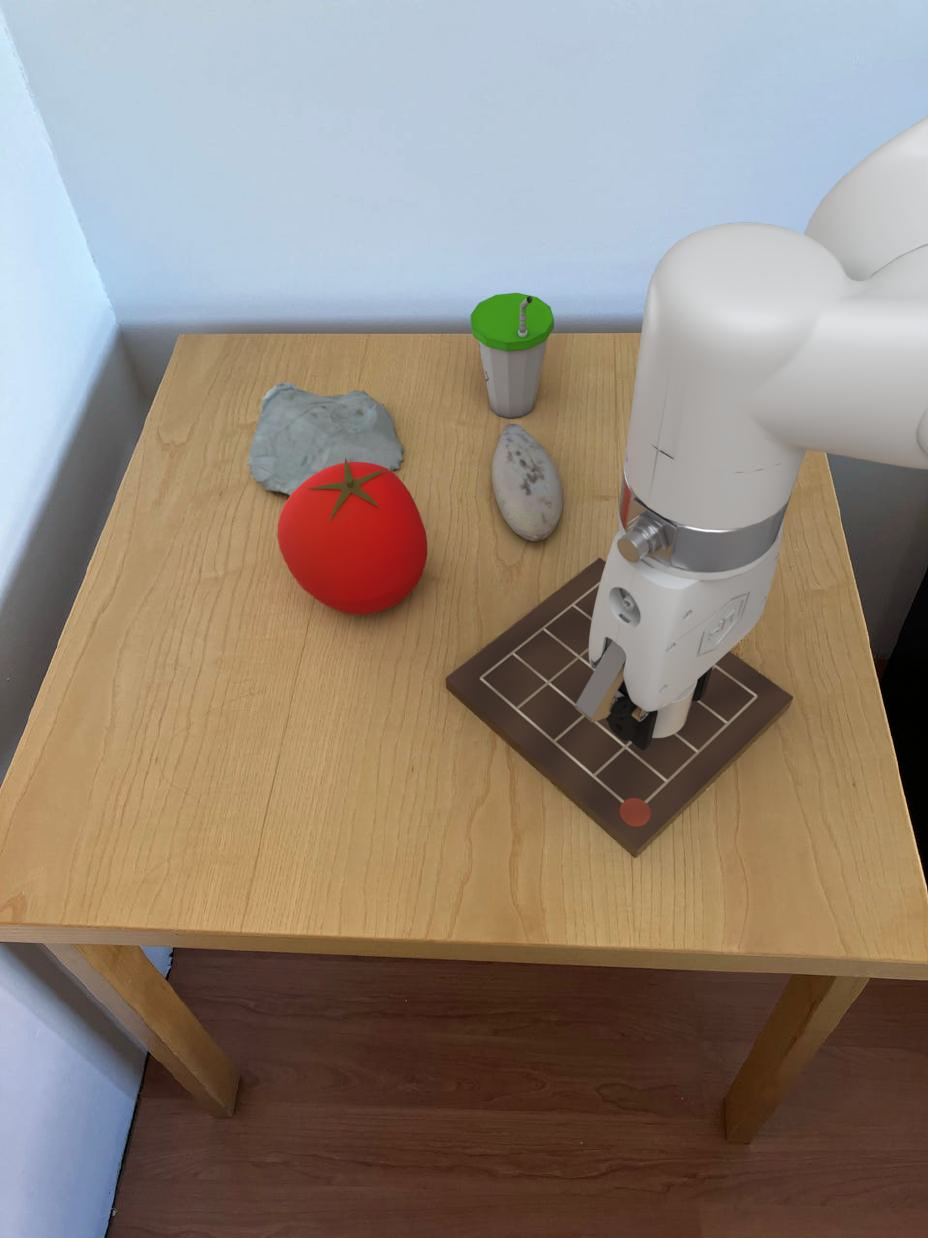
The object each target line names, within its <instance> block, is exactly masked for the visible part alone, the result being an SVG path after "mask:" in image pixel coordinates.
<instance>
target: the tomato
mask: <svg viewBox="0 0 928 1238" xmlns="http://www.w3.org/2000/svg"><path fill="white" fill-rule="evenodd" d="M276 537H277V541H278V547H279V550H280V553H281V555H282V557H283V561H284V562H285V565H286V566H287V568H288V570H289V572H290V573H291V575H292V576H293V578H294V579H295V581H296V582H297V583H298V584H299V585H300V586H301V588H302V589H303V590H304V591H305V592H307V593H308V594H309V595H311V596H312V597H313V598H315V600H317V601H318V602H320V603H321V604H322V605H325V606H326V607H328V608H330V609H333V610H336V611H339V612H341V613H346V614H350V615H369V614H374V613H378V612H382V611H385V610H388V609H391V608H392V607H394V606H397V604H399V603H401V602H402V601H403V600H404V599H405V598H406V597H407V596H409V595H410V594H412V592H413V591H414V590H415V588H416V587H417V585H418V584H419V583H420V580H421V578H422V576H423V573H424V570H425V566H426V562H427V559H428V538H427V532H426V529H425V525H424V522H423V520H422V516H421V514H420V511H419V508H418V506H417V504H416V502H415V500H414V498H413V495H412V493H411V492H410V490H409V489H408V488H407V486H406V484H404V482H403V481H402V480H401V479H400V477H399V476H398V475H396V473H394V472H393V471H392V472H391V471H390V470H388V468H385V467H382V466H379V465H376V464H372V463H366V462H347V460H346V457H345V463H341V464H337V465H334V466H331V467H328V468H325V469H323V470H321V471H319V472H317V473H316V474H314V475H313V476H311V477H310V478H308V479H307V480H306V481H304V482H303V483H302V484H301V485H300V486H299V487H298V488H297V489H296V490H295V491H294V492H293V493H292V494H291V495H290V496H288V498H287V500H286V501H285V503H284V505H283V507H282V509H281V511H280V513H279V518H278V521H277V533H276Z"/></svg>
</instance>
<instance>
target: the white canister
mask: <svg viewBox="0 0 928 1238" xmlns="http://www.w3.org/2000/svg"><path fill="white" fill-rule="evenodd" d="M697 680H698V679H697ZM697 680H696V681H695V682H694V683H693V684H692V685H691V686H689V687H688V688H687V689H686V690H685V691H684V692H683V693H681V694H680V695H679V696H678V697H677V698H676V699H674V700H673V701H672V702H671V703H669V704H668V705H666V706H665V707H663V708H661V709H659V710H657V711H658V715H657V719H656V723H655V728H654V732H653V736H652V738H663V737H667V736H670V735H673V734H674V733H676V732H678V731H679V730H680V729H681V728H682V727H683V726H684V724H685V722H686V720H687V717H688V713H689V709H690V706H691V702H692V699H693V695H694V692H695V688H696V685H697Z"/></svg>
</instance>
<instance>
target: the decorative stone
mask: <svg viewBox="0 0 928 1238" xmlns="http://www.w3.org/2000/svg"><path fill="white" fill-rule="evenodd" d="M561 481H562V480H561V477H560V474H559V471H558V468H557V466H556V464H555V463H554V461H553V459H552V457H551V455H550V454H549V452H548V451H547V450H546V449H545V447H544V446H543V445H542V444H541V443H539V442H538V440H536V439H535V437H533V436H532V435H531V434H530V433H529V432H527V431H526V430H525V429H524V428H523V427H522V426H520V424H518V423H508V424H506V425H505V426H504V427H503V429H502V430H501V434H500V437H499V439H498V441H497V445H496V448H495V451H494V455H493V459H492V464H491V482H492V488H493V493H494V497H495V501H496V504H497V506H498V508H499V511H500V514H501V516H502V517H503V519H504V520H505V522H506V523H507V525H508V526H509V527H510V528H511V530H512V531H513V532H514V533H516V534H517V535H518V536H520V537H521V538H523V539H525V540H528V541H531V542H540V541H543V540H545V539H546V538H548V537H549V536H550V535H551V534H552V533H553V532H554V531H555V529H556V527H557V526H558V524H559V521H560V518H561V516H562V510H563V504H564V503H563V501H564V500H563V490H562V489H563V488H562V483H561Z"/></svg>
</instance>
